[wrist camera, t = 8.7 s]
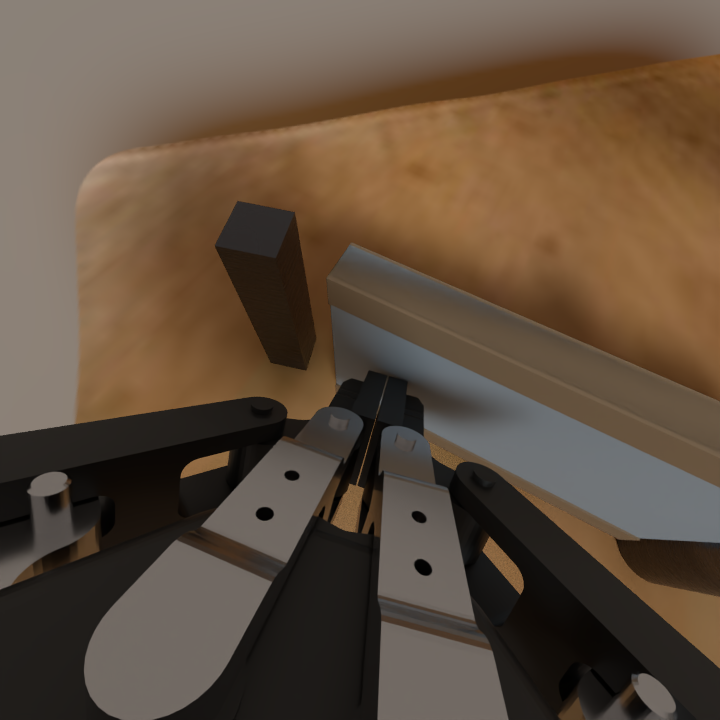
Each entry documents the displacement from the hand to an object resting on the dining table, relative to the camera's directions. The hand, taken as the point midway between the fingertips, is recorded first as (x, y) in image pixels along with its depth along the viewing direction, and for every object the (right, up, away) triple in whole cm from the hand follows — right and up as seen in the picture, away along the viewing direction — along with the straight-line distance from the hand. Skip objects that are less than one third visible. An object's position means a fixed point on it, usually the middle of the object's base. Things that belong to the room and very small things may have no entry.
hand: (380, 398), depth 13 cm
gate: (+5, -3, +4) cm, 6 cm away
